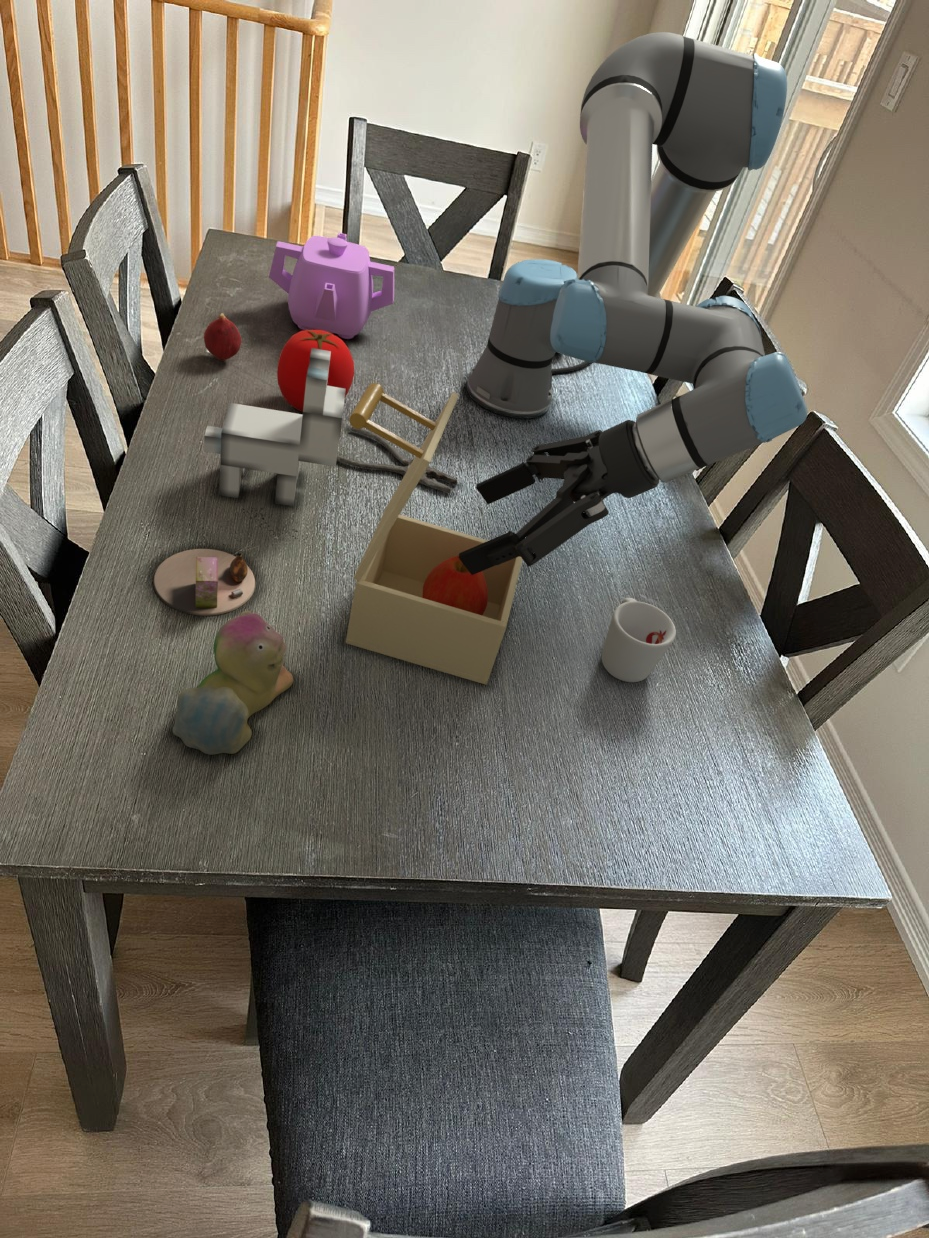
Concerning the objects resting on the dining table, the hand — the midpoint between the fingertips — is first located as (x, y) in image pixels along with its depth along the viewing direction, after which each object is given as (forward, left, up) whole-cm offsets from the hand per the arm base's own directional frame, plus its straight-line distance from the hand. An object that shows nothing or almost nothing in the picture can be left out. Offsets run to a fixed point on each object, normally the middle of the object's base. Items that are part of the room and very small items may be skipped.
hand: (473, 527), depth 101 cm
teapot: (-20, -77, -16) cm, 82 cm away
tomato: (-5, -51, -17) cm, 54 cm away
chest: (+2, -1, -16) cm, 16 cm away
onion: (+4, -67, -17) cm, 69 cm away
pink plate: (+25, -17, -16) cm, 34 cm away
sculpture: (+29, +3, -17) cm, 33 cm away
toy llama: (+10, -33, -16) cm, 39 cm away
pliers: (-11, -34, -16) cm, 40 cm away
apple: (0, 0, -16) cm, 16 cm away
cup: (-19, +13, -16) cm, 28 cm away
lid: (+6, -5, +3) cm, 9 cm away
